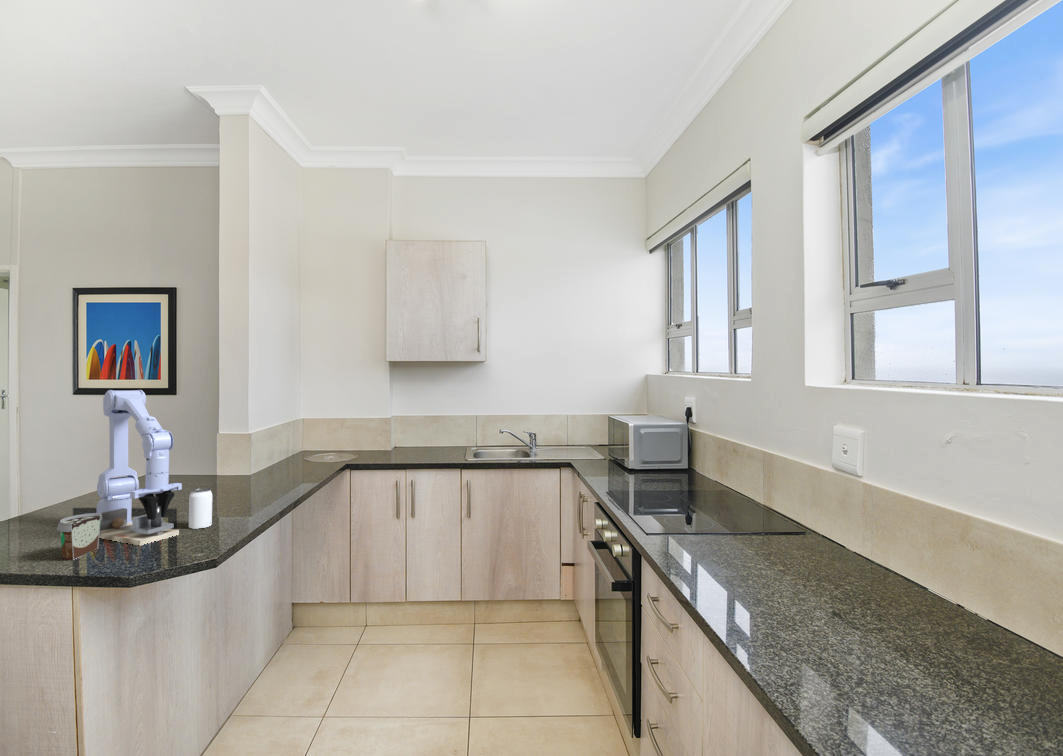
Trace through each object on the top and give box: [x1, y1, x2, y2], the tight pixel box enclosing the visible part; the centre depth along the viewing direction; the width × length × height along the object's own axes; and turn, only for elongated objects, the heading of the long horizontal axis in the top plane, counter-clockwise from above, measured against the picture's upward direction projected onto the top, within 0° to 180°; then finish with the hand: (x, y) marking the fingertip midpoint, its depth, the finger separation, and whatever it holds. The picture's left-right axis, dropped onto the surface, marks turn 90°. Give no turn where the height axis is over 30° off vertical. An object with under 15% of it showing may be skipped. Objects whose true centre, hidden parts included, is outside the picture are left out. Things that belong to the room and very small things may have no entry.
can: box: [188, 487, 213, 530], centre depth 179 cm, size 6×6×12 cm
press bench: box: [99, 508, 180, 547], centre depth 167 cm, size 22×12×6 cm, turn 71°
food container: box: [56, 512, 102, 561], centre depth 149 cm, size 12×6×10 cm, turn 5°
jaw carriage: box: [132, 504, 175, 534], centre depth 165 cm, size 6×8×7 cm
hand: (156, 518), depth 164 cm, fingers closed on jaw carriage, 3 cm apart
